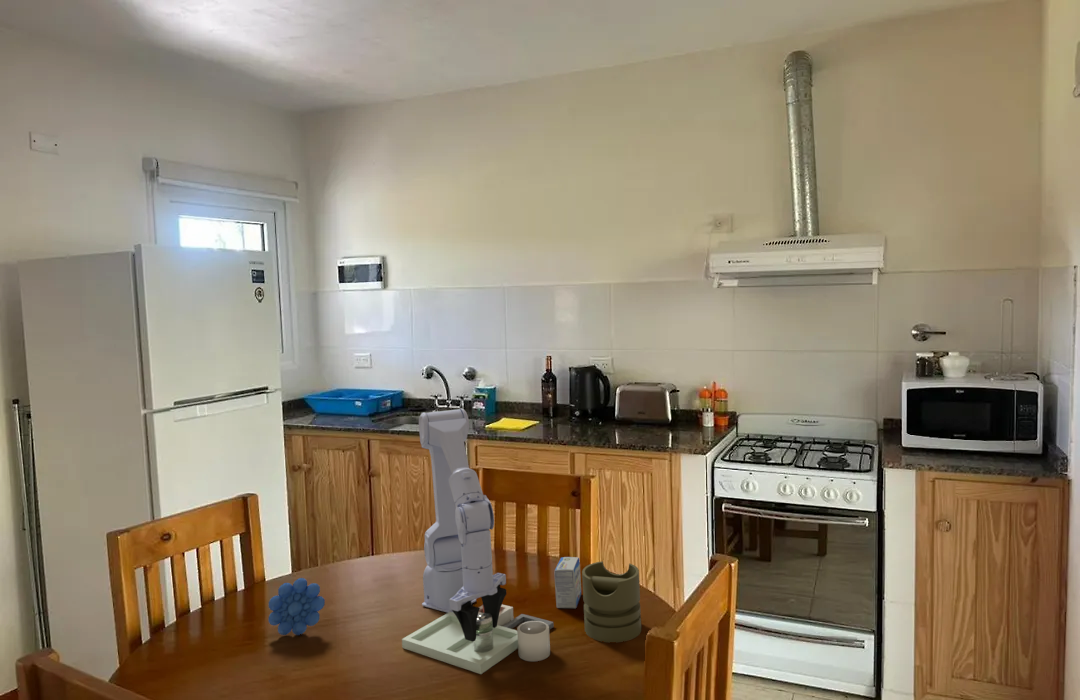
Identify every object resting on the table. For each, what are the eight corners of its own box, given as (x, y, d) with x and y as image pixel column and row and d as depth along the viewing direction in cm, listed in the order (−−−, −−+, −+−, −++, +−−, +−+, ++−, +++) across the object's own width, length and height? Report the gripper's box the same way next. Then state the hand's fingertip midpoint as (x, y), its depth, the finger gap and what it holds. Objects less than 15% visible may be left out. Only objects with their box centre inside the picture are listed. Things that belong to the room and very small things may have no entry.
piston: (632, 584, 139) (575, 579, 143) (634, 645, 140) (577, 639, 144) (644, 563, 150) (590, 558, 154) (646, 619, 151) (593, 614, 155)
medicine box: (576, 609, 157) (574, 570, 157) (555, 608, 158) (554, 569, 158) (581, 594, 165) (579, 556, 164) (562, 593, 166) (560, 556, 165)
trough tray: (402, 647, 144) (401, 639, 144) (450, 619, 155) (449, 611, 155) (481, 674, 132) (480, 664, 132) (526, 641, 144) (526, 633, 143)
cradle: (498, 633, 148) (498, 629, 148) (522, 618, 154) (521, 613, 154) (530, 643, 143) (530, 638, 143) (553, 626, 150) (553, 622, 149)
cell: (468, 649, 140) (466, 617, 140) (481, 640, 144) (479, 609, 143) (485, 654, 138) (483, 621, 138) (498, 645, 142) (496, 613, 141)
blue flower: (331, 623, 156) (327, 568, 156) (324, 638, 150) (320, 581, 149) (275, 627, 156) (271, 572, 155) (266, 642, 149) (261, 585, 148)
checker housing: (471, 626, 152) (470, 612, 151) (489, 614, 157) (489, 601, 157) (495, 633, 148) (494, 618, 148) (513, 621, 153) (512, 607, 153)
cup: (512, 656, 138) (510, 630, 138) (530, 643, 143) (529, 617, 143) (538, 664, 135) (536, 637, 134) (556, 650, 140) (555, 624, 139)
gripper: (468, 581, 132) (472, 654, 133) (516, 555, 143) (520, 622, 144) (439, 574, 136) (443, 644, 137) (488, 549, 147) (492, 614, 148)
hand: (481, 632), depth 141 cm, fingers open, 6 cm apart
